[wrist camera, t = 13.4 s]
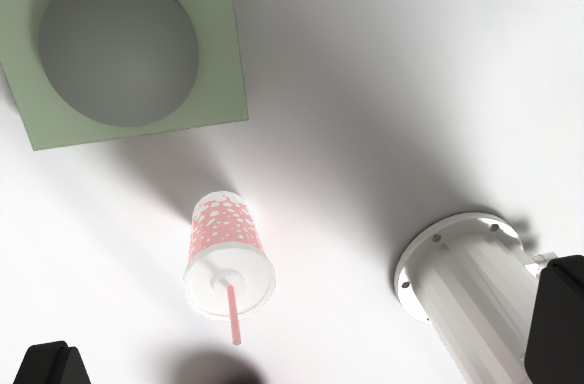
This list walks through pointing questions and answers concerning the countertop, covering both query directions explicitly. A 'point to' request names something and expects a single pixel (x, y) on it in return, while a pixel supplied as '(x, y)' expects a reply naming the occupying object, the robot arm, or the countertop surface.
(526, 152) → the countertop surface
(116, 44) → the green domed square base
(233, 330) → the beverage cup
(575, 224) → the countertop surface
